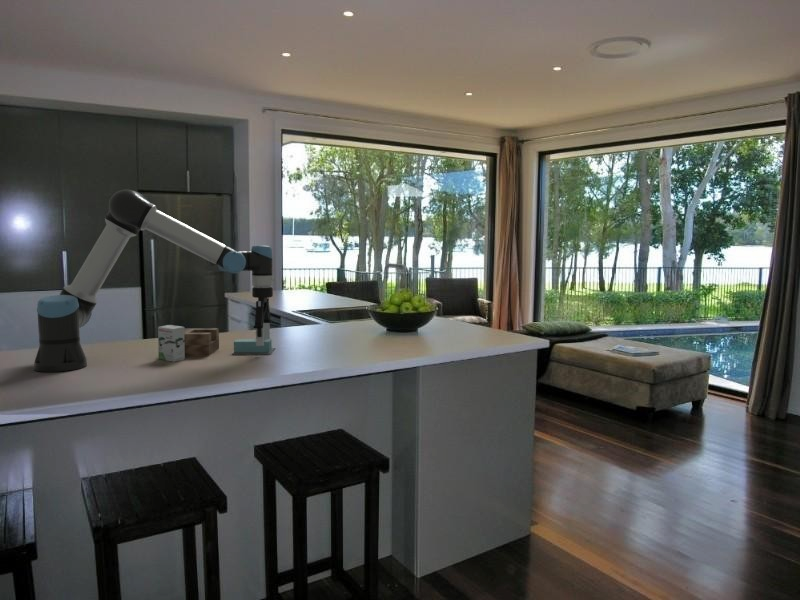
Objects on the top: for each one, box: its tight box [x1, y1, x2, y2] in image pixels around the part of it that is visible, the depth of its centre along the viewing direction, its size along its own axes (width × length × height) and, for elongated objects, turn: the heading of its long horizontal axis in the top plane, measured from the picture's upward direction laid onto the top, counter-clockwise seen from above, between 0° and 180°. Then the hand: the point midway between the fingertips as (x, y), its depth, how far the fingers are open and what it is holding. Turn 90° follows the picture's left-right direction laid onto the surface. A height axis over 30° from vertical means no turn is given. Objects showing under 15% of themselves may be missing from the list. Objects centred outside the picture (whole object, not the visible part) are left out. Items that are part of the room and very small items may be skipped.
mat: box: [231, 347, 276, 356], centre depth 228 cm, size 14×12×1 cm
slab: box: [233, 338, 273, 353], centre depth 228 cm, size 13×6×4 cm, turn 93°
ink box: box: [157, 324, 186, 362], centre depth 212 cm, size 9×5×12 cm, turn 60°
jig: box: [184, 327, 220, 357], centre depth 226 cm, size 16×15×8 cm
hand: (263, 342), depth 228 cm, fingers open, 13 cm apart
